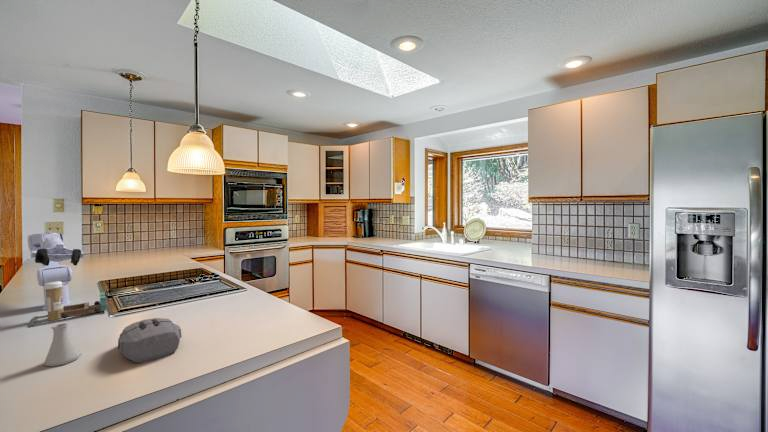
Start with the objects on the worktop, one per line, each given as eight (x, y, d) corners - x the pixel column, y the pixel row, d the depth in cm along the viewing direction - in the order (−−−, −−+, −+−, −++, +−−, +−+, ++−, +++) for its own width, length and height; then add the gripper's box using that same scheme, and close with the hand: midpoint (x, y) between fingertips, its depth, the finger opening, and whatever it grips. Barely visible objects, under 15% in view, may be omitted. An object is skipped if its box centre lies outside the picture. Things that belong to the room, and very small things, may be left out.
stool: (62, 311, 130) (61, 298, 130) (105, 304, 139) (104, 292, 138) (60, 319, 122) (59, 305, 122) (106, 310, 130) (105, 297, 130)
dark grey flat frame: (33, 318, 125) (33, 316, 125) (103, 306, 138) (103, 304, 138) (29, 327, 117) (29, 325, 117) (104, 313, 130) (104, 311, 130)
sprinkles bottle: (63, 318, 125) (60, 282, 124) (45, 321, 122) (42, 284, 121) (65, 315, 128) (63, 280, 128) (49, 317, 126) (46, 282, 125)
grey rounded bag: (187, 351, 98) (171, 331, 113) (186, 323, 98) (170, 306, 112) (122, 370, 88) (113, 345, 102) (120, 339, 87) (111, 318, 102)
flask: (60, 355, 96) (57, 320, 96) (87, 353, 97) (84, 319, 96) (36, 368, 89) (33, 331, 88) (66, 366, 90) (63, 329, 89)
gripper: (31, 238, 126) (36, 252, 118) (82, 240, 138) (90, 253, 130) (27, 256, 127) (32, 271, 119) (78, 256, 138) (86, 270, 130)
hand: (62, 263), depth 124 cm, fingers open, 7 cm apart
